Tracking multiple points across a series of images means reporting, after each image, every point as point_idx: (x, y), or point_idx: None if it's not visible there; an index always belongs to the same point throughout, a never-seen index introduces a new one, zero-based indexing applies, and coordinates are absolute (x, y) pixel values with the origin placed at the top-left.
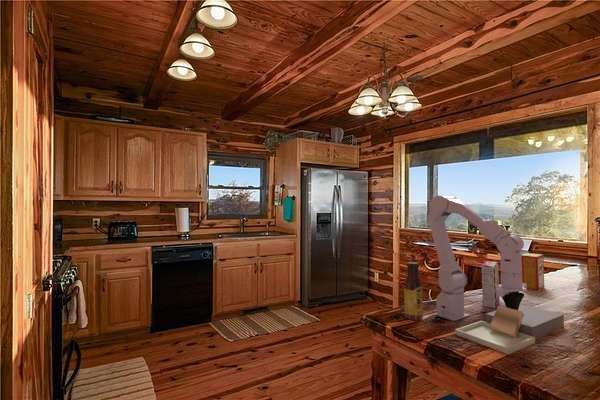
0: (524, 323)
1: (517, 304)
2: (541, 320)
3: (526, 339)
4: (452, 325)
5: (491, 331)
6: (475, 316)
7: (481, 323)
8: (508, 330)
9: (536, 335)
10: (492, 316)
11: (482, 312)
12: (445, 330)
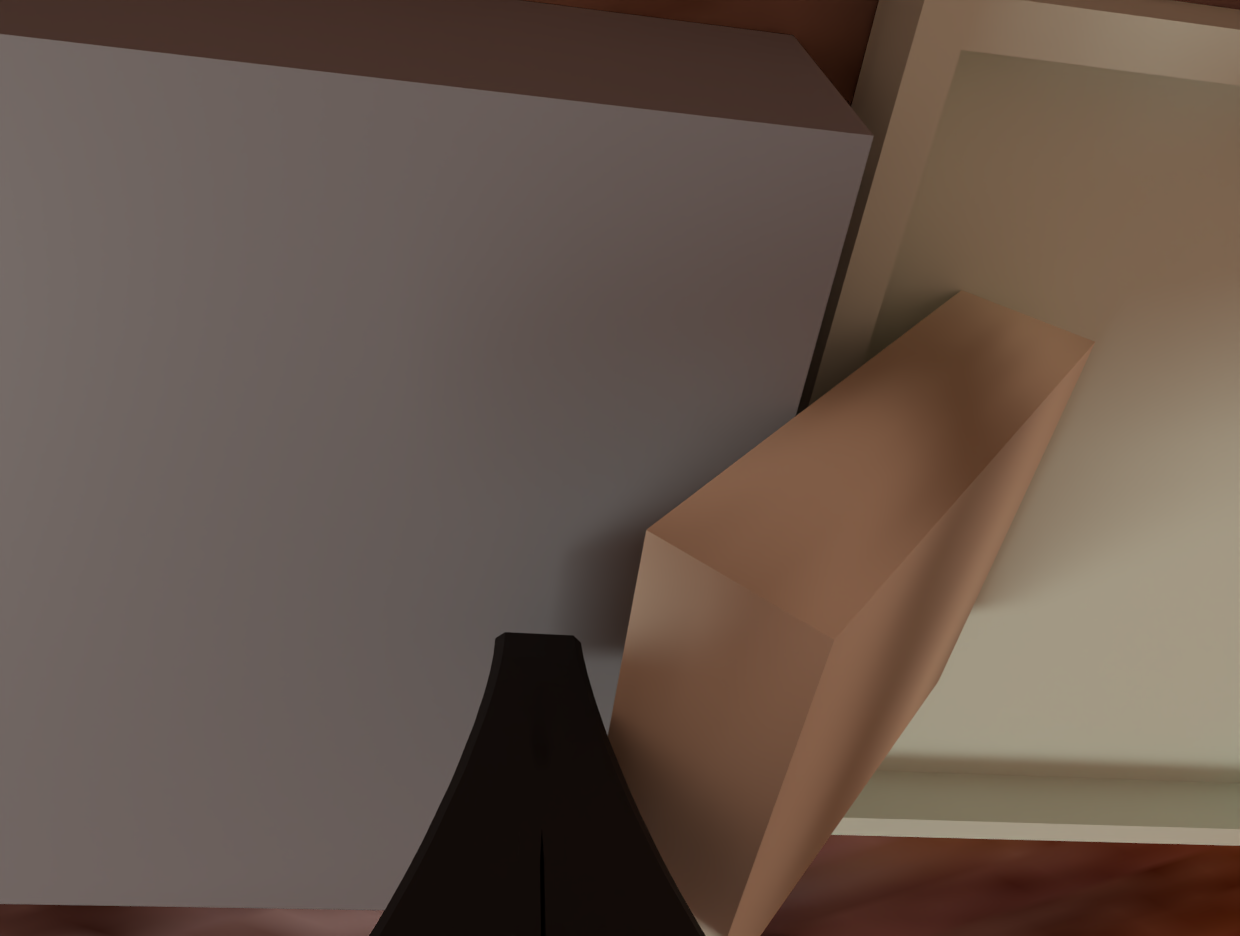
0: (704, 369)
1: (584, 905)
2: (4, 169)
3: (1213, 71)
4: (948, 900)
5: None
6: (377, 910)
7: None
8: (1031, 457)
9: (631, 36)
10: None
11: (120, 930)
12: (1176, 873)
